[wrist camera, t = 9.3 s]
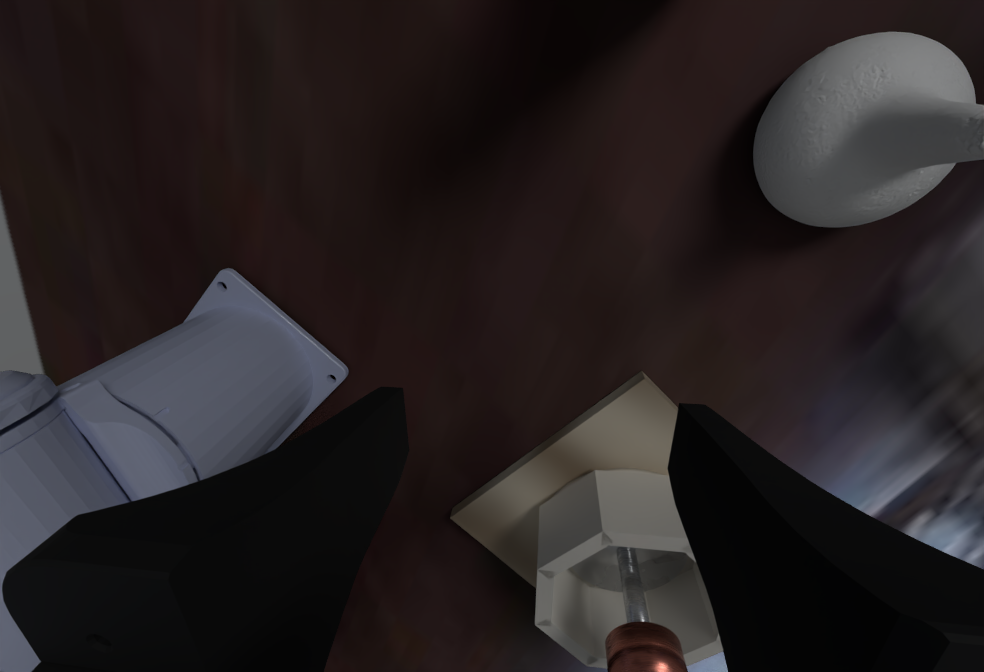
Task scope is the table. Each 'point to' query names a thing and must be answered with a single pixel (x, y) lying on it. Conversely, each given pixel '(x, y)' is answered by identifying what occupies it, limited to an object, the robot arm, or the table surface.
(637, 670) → the plunger
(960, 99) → the garlic bulb
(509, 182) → the table surface
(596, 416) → the board
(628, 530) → the press carafe
